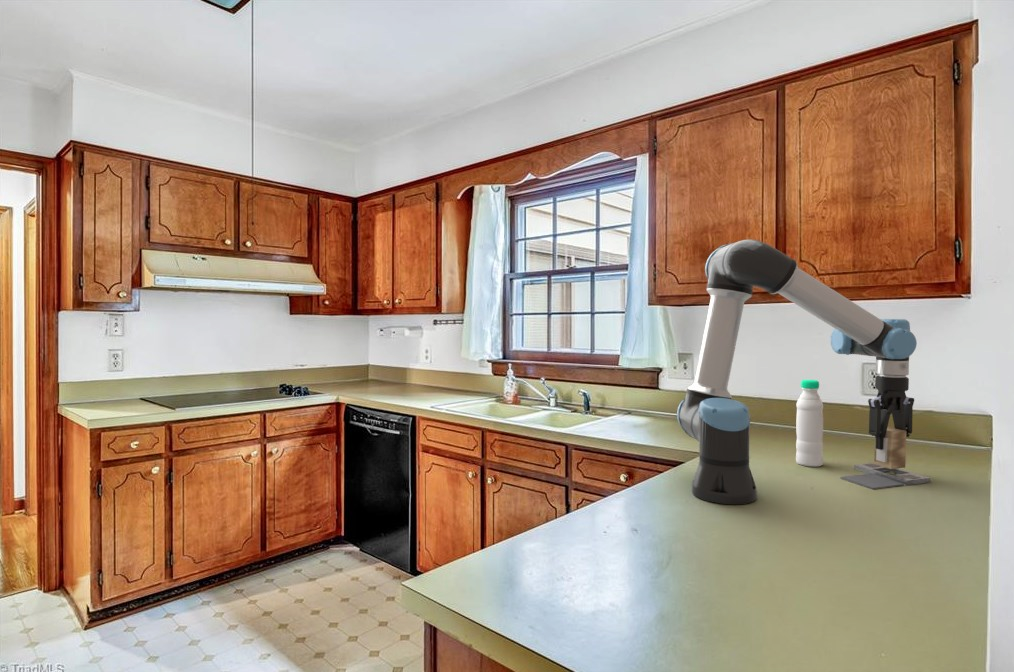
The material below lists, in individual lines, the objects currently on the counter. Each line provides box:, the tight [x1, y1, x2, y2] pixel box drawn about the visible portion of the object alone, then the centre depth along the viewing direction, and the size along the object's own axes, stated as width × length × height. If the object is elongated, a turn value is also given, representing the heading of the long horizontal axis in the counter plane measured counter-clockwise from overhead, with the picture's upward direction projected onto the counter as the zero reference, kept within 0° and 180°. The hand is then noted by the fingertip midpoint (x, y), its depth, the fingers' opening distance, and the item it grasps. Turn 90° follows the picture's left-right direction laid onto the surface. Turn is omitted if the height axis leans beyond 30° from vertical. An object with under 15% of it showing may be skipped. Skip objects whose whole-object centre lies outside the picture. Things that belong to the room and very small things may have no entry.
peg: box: [873, 426, 907, 469], centre depth 155 cm, size 5×5×10 cm
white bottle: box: [795, 379, 824, 468], centre depth 167 cm, size 7×7×25 cm
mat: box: [840, 473, 905, 490], centre depth 150 cm, size 10×10×1 cm
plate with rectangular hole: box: [853, 462, 932, 486], centre depth 156 cm, size 8×16×1 cm, turn 15°
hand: (889, 460), depth 155 cm, fingers closed on peg, 5 cm apart
